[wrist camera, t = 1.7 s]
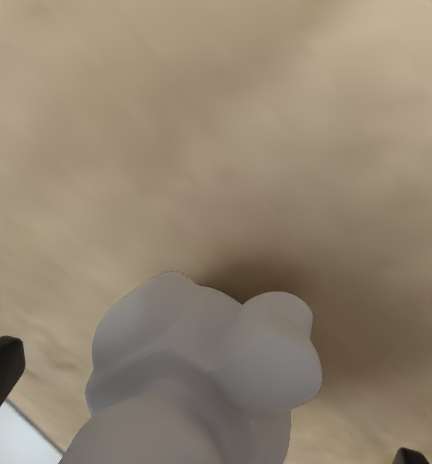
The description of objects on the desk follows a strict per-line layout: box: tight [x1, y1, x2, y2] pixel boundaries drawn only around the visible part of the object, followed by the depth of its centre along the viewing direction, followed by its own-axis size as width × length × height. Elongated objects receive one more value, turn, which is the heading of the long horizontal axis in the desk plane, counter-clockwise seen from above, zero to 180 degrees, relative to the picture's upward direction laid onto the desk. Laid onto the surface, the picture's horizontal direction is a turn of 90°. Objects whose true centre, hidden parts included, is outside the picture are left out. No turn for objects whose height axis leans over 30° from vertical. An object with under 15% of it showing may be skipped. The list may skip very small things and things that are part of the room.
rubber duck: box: [58, 272, 322, 464], centre depth 8 cm, size 5×7×8 cm
